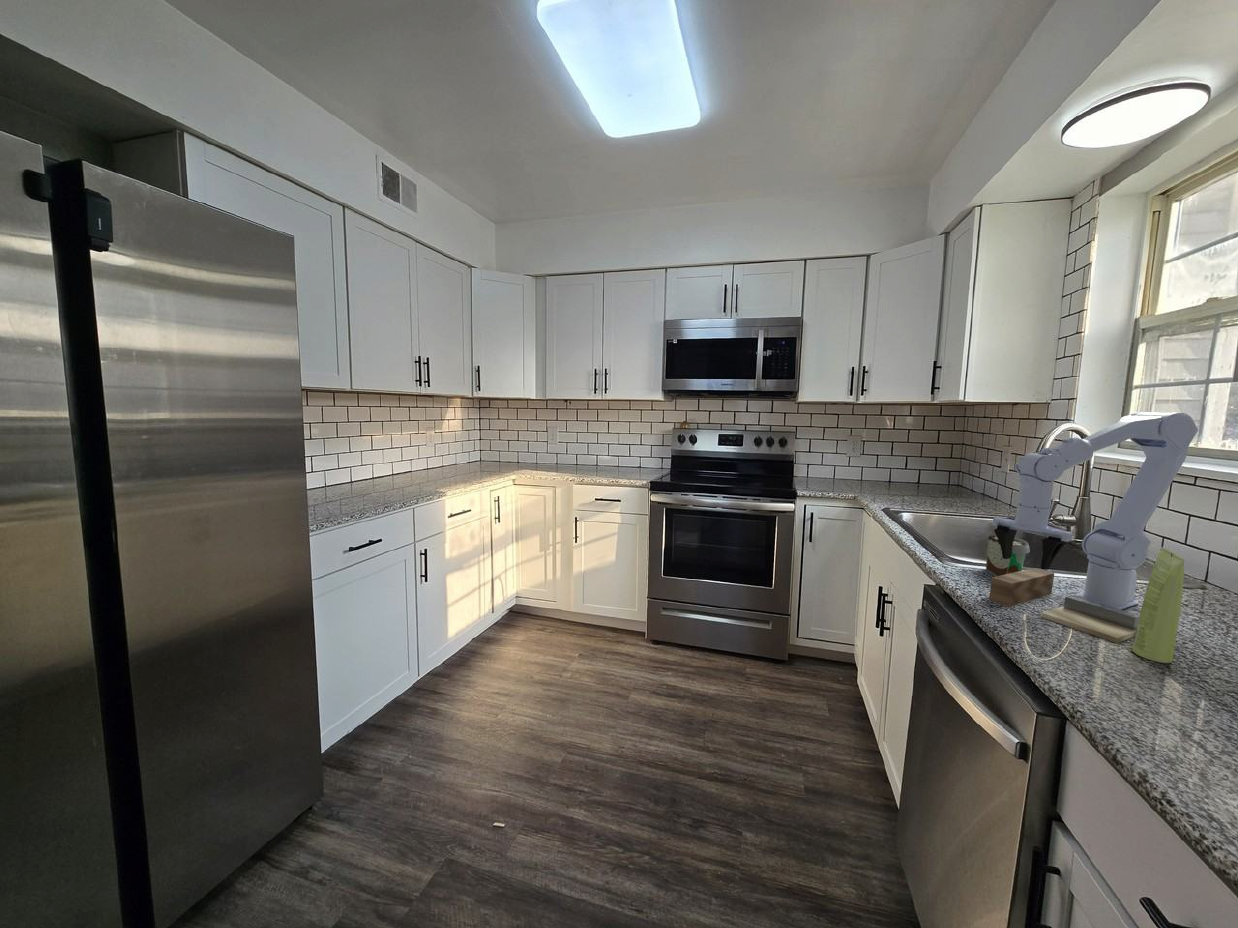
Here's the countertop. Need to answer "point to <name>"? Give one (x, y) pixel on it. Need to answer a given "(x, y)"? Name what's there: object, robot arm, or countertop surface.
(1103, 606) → the balance stand
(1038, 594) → the walnut bar
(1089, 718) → the countertop surface
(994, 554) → the food container
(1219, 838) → the countertop surface
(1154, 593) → the tube
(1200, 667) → the countertop surface
